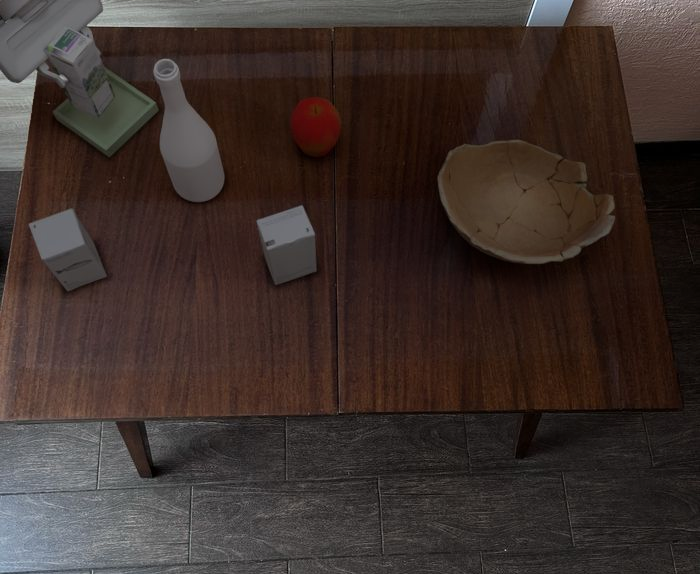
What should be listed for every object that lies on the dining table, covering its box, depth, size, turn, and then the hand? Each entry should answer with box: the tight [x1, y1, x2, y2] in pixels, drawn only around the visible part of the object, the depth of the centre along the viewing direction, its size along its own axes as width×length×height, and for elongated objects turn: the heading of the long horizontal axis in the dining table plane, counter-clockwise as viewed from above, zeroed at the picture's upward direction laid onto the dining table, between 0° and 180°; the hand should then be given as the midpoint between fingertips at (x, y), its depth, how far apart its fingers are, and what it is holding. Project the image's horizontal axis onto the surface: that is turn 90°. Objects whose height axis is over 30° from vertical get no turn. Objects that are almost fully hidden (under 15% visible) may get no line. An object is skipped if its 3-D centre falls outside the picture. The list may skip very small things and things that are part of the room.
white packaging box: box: [27, 208, 108, 292], centre depth 116 cm, size 7×7×13 cm
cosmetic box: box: [256, 205, 318, 286], centre depth 117 cm, size 8×6×15 cm
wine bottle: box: [152, 58, 225, 203], centre depth 115 cm, size 10×10×30 cm
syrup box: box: [44, 26, 115, 118], centre depth 119 cm, size 6×6×14 cm
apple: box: [290, 96, 342, 158], centre depth 127 cm, size 9×9×12 cm
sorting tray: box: [52, 66, 160, 158], centre depth 132 cm, size 14×14×2 cm
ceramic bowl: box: [436, 139, 616, 265], centre depth 123 cm, size 30×27×15 cm
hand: (82, 71), depth 118 cm, fingers closed on syrup box, 6 cm apart
